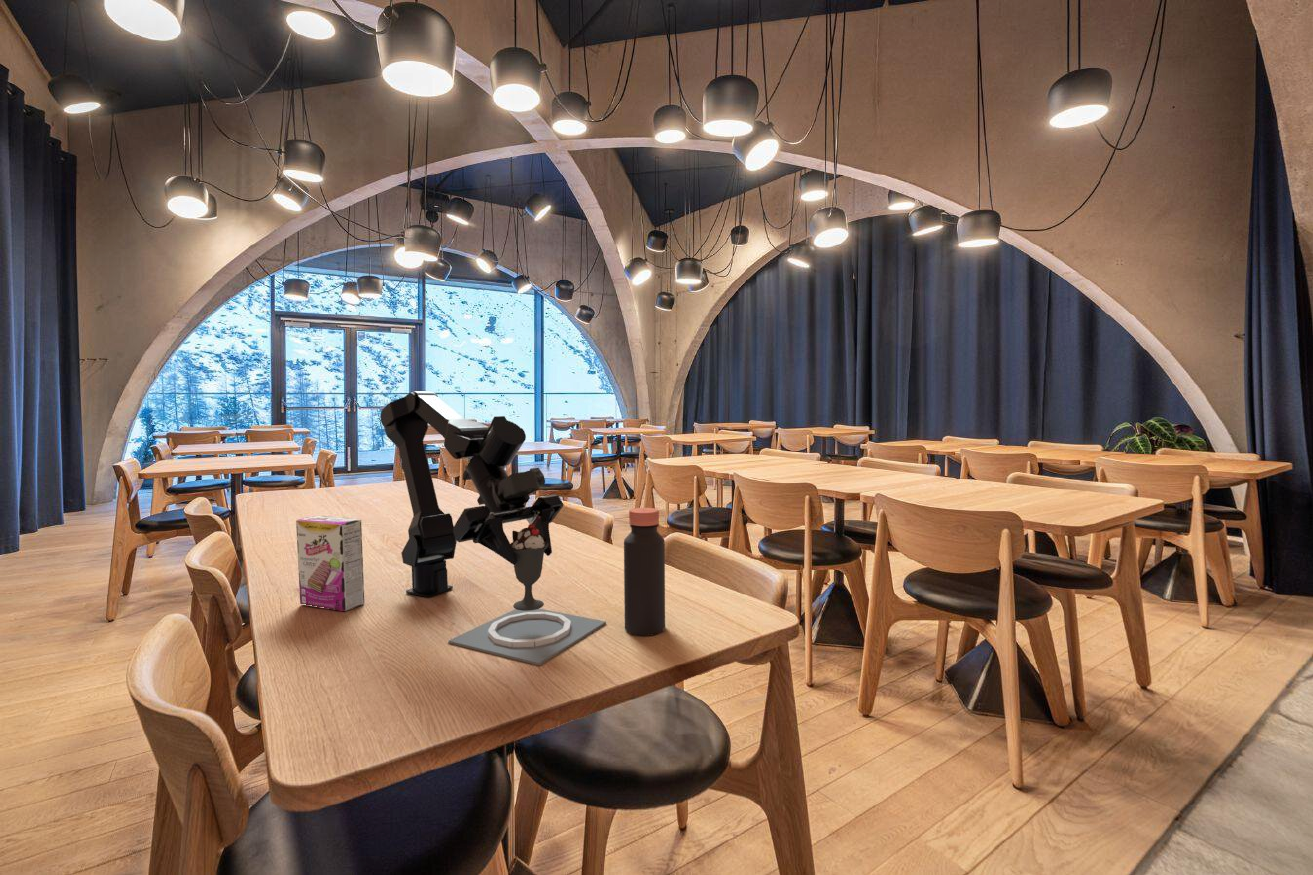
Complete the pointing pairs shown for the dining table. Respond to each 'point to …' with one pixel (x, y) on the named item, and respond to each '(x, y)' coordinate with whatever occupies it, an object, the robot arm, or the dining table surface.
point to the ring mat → (528, 634)
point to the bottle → (644, 574)
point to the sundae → (528, 563)
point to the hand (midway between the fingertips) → (533, 558)
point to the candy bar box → (330, 562)
